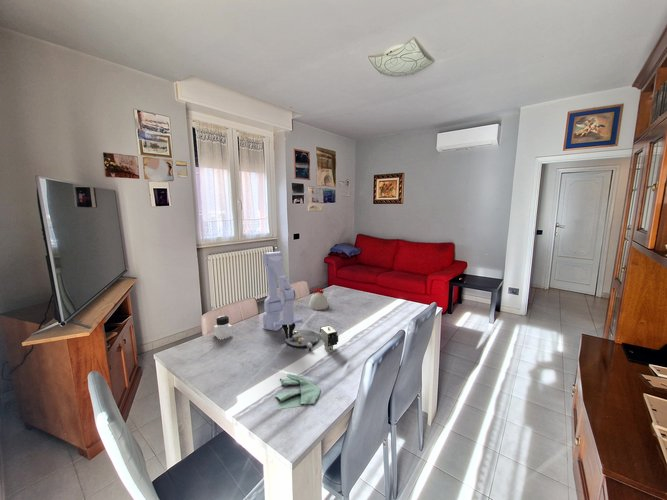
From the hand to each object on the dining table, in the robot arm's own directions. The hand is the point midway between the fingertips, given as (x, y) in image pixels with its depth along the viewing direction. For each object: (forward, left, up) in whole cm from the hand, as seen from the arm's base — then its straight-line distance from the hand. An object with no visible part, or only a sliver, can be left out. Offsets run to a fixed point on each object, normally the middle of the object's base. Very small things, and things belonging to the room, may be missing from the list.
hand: (288, 337), depth 143 cm
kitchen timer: (-6, +53, -3) cm, 54 cm away
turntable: (+5, +5, -3) cm, 8 cm away
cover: (+3, +3, -1) cm, 4 cm away
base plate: (+5, +5, -3) cm, 8 cm away
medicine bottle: (-36, -7, -3) cm, 37 cm away
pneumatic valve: (+22, 0, -3) cm, 22 cm away
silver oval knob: (+13, -3, -3) cm, 14 cm away
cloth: (+19, -32, -4) cm, 38 cm away
